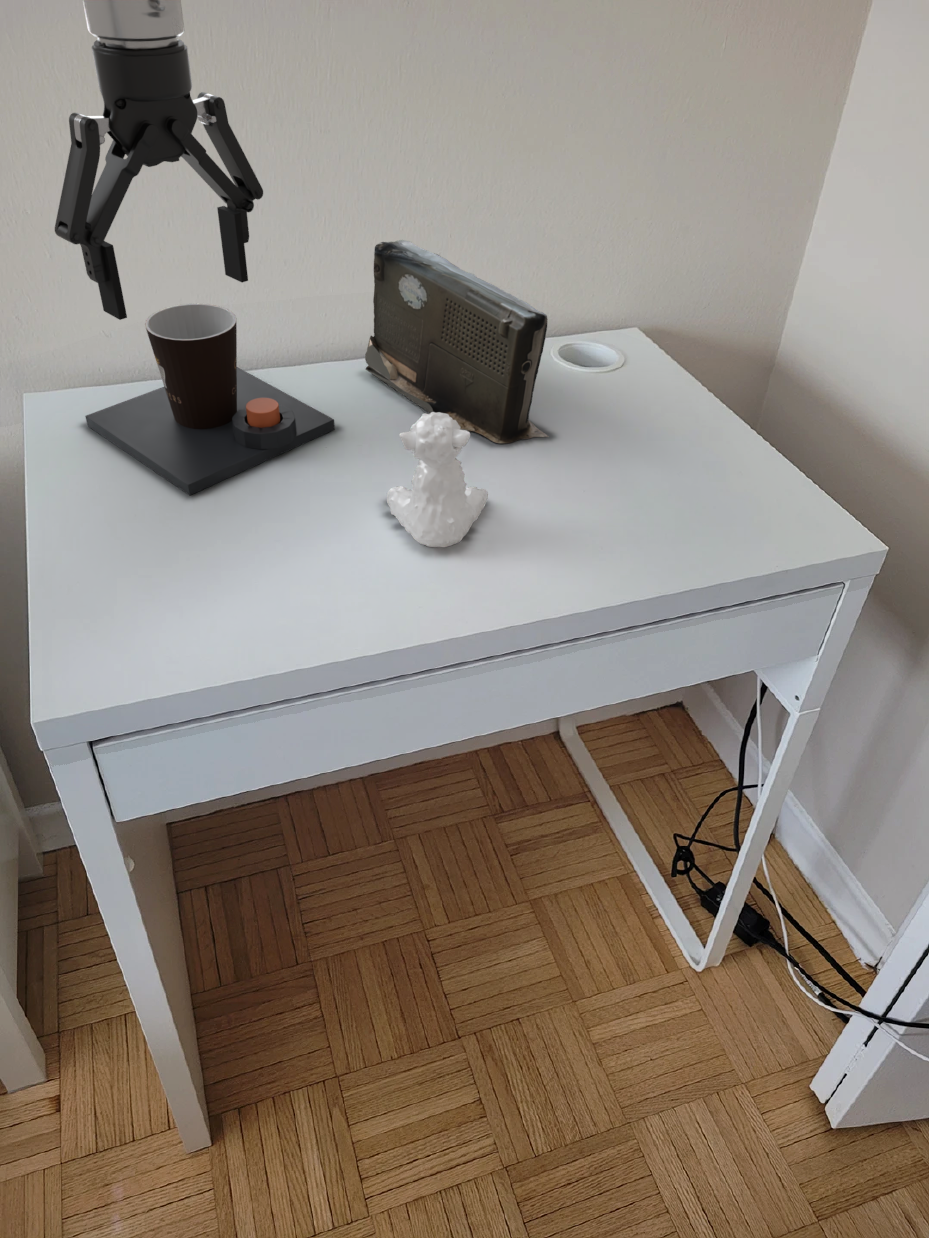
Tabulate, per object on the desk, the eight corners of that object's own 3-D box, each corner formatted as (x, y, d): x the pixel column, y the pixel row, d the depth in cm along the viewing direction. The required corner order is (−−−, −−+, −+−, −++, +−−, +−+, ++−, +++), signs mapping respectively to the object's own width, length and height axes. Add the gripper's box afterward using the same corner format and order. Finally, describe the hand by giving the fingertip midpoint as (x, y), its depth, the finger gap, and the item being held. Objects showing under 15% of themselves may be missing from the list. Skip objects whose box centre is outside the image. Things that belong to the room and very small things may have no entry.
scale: (193, 498, 89) (188, 470, 87) (87, 426, 98) (80, 399, 96) (338, 431, 99) (337, 405, 97) (230, 372, 108) (226, 347, 106)
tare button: (261, 432, 93) (259, 416, 92) (241, 420, 95) (239, 404, 94) (286, 421, 95) (285, 405, 94) (266, 410, 97) (264, 394, 96)
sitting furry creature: (486, 501, 90) (494, 386, 82) (494, 556, 84) (503, 436, 76) (387, 502, 90) (384, 385, 82) (386, 557, 83) (384, 436, 75)
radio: (549, 437, 100) (564, 298, 90) (484, 460, 96) (492, 318, 86) (423, 354, 114) (424, 226, 104) (361, 371, 110) (357, 240, 100)
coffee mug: (239, 436, 95) (226, 342, 89) (153, 433, 95) (134, 338, 89) (259, 383, 104) (249, 293, 98) (181, 379, 104) (165, 290, 98)
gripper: (15, 64, 68) (80, 345, 82) (288, 31, 82) (305, 274, 96) (-34, 47, 72) (36, 318, 85) (235, 18, 86) (258, 254, 100)
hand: (178, 295), depth 91 cm, fingers open, 13 cm apart
